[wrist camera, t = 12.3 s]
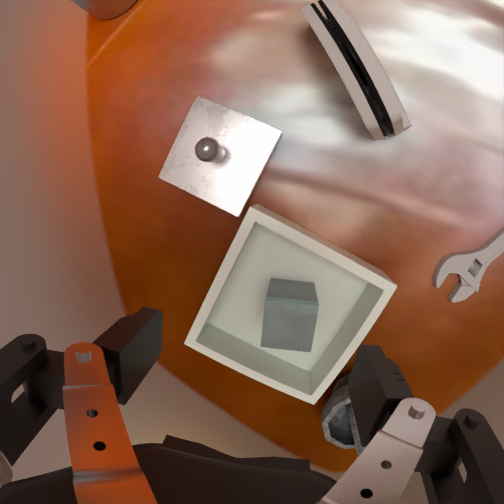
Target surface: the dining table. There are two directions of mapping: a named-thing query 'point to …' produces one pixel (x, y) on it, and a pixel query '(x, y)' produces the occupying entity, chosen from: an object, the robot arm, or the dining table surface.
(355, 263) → the bin
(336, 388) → the mortar and pestle
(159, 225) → the dining table surface
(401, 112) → the napkin holder
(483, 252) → the adjustable wrench
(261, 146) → the stud plate
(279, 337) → the grey rectangular block
